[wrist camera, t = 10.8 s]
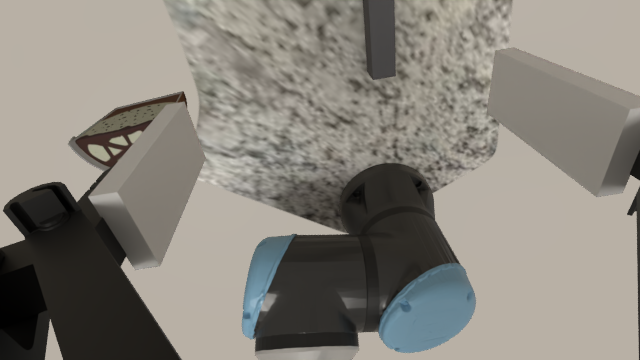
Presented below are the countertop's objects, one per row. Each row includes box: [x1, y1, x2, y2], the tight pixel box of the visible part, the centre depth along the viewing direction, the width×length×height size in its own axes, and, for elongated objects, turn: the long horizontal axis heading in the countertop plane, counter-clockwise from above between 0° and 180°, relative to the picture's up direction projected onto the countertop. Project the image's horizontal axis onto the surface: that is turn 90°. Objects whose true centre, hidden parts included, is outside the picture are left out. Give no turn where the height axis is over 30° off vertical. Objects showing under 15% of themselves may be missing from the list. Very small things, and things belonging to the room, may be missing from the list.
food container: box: [68, 92, 187, 171], centre depth 42 cm, size 12×6×10 cm, turn 102°
